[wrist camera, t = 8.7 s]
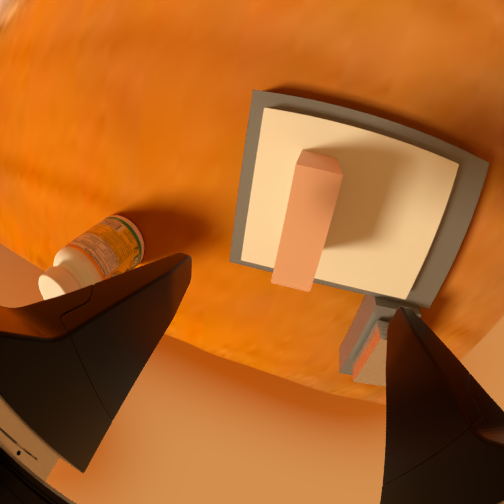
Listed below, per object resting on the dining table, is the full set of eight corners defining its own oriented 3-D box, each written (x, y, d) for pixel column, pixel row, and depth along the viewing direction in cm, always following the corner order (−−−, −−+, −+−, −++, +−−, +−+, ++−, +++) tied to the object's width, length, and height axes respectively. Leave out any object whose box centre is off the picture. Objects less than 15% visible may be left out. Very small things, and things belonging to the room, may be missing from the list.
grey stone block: (411, 326, 19) (416, 345, 17) (383, 368, 21) (385, 386, 19) (377, 319, 19) (380, 339, 17) (352, 362, 21) (352, 381, 20)
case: (476, 157, 15) (497, 166, 12) (385, 357, 25) (388, 380, 22) (259, 91, 17) (249, 88, 14) (227, 321, 27) (217, 343, 24)
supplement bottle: (126, 204, 23) (47, 256, 15) (156, 254, 25) (92, 322, 17) (94, 227, 25) (25, 277, 17) (122, 271, 27) (63, 331, 19)
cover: (452, 161, 14) (496, 184, 9) (402, 291, 19) (418, 344, 14) (267, 107, 15) (243, 107, 11) (244, 253, 20) (219, 300, 16)
